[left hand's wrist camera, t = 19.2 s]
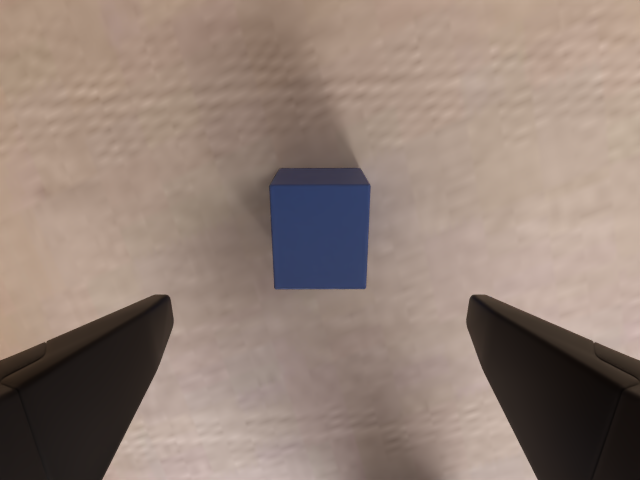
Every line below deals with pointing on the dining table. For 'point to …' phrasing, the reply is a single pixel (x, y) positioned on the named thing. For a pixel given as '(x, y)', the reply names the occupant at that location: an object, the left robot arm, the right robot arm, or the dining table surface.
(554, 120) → the dining table surface
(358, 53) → the dining table surface
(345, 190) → the block
